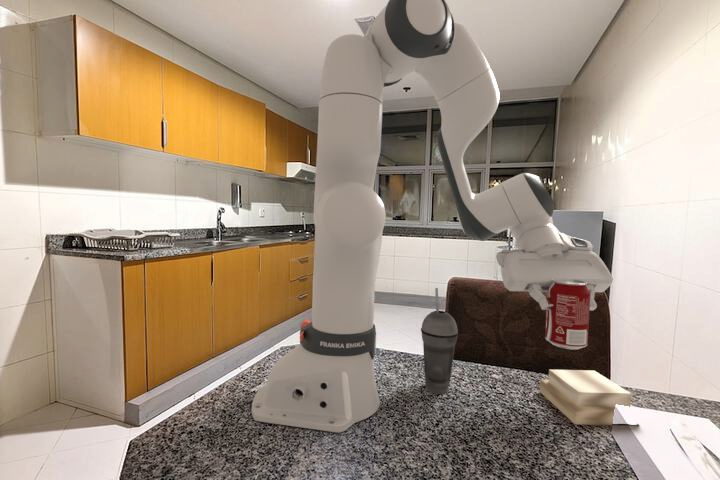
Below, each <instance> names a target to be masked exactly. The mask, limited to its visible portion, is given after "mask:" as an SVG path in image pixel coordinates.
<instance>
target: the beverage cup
mask: <svg viewBox="0 0 720 480" xmlns="http://www.w3.org/2000/svg"><path fill="white" fill-rule="evenodd" d="M434 292H435V310H433V311H431V312H429V313H428V314H427V315H426V316H425V317H424V319H423V320H422V323H421V328H420V332H421V340H422V342H423V343H422V345H423V346H422V347H423V348H422V349H423V365H424V366H423V368H424V370H423V371H424V382H425V384H424V385H425V389H426V390H427V392H430V393H432V394H438V395H439V394H442V395H443V394H446V393H448V392H449V387H450V383H451V375H452V370H453V362H454V355H455V348H456V344H457V340H458V335H459V332H458V331H459V330H458V325H457V322H456V320H455V319H454V317H453V316H452V315H451V314H450V313H448V312H446V311H444V310H440V307H439V306H440V305H439V303H440V302H439V288H438V287H435V289H434Z"/></svg>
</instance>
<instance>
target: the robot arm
mask: <svg viewBox="0 0 720 480" xmlns="http://www.w3.org/2000/svg"><path fill="white" fill-rule="evenodd" d="M413 72H415V73H416V74H418V75H420V76H421V77H422V78H423V79H424V80H425V81H426V82H427V84H428V86H429V88H430V91H431V93H432V95H433V97H434V100H435V101H436V103H437V106H438V108H439V110H440V111H439V112H440V117H441V125H440V128H439V129H438V131H437V132H436V141H437V147H438V150H439V155H440V159H441V162H442V166H443V169H444V171H445V174H446V178H447V181H448V184H449V188H450V190H451V191H450V192H451V195H452V197H453V200H454V204H455V206H456V207H455V208H456V212H457V218H458V222H459V226H460V228H461V230H462V231H463V233H464V234H465V236H466V237H467V238H470V239H473V240H476V241H480V242H484V241H487V240H490V239H491V238H492V237H495V236H497V235H498V234H500V233H501V232H504V231H506V230H510V232H511V234H512V236H513V237H514V238H515V244H516V245H515V246H516V247H517V249H512V250H511V249H502V250H501V251H499V252H497V254H496V255H495V256H496V258H495V259H496V261H497V264H498V265H499V266H500V273H501V280H502V284H503V287H504V288H506V289H507V290H508V291H509V292H528V293H529V296H530V297H532V299H534V301H536V302H537V303H538V304H539V306H540V308H541V310H542V311H547V310H551V308H553V303H552V300H551V298H547V296H546V295H544V294H543V293H542V292H545V293H546V292H547V293H548V287H549V286H550V285H551V284H552V279H553V280H554V281H558V282H574V280H580V281H585V282H587V285H586V287H587V288H588V290H589V291H590V310H589V311H594V310H596V309H597V307H598V305H597V302H596V301H595V295H596V293H604V292H605V291H606V290H607V289H608V288H609V287H611V285H612V283H613V280H614V278H613V276H612V274H611V272H610V270H609V269H608V267H607V265H606V264H605V262H604V260H602V258H601V257H600V256H599V255H598V254H597V253H595V252H593V251H592V250H593V248H594V246H593V244H592V243H591V242H590V241H588V240H586V239H581V238H579V237H578V238H577V237H574V236H570V235H568V234H566V233H563V232H560V230H559V229H558V228H557V226H555V225H554V221H553V214H554V210H555V202H554V199H553V197H552V195H551V193H549V191H548V190H547V188H546V185H545V183H544V181H543V179H542V178H541V177H540V176H538V175H536V174H532V173H528V172H523V173H519V174H517V175H514V176H513V177H511V178H508V179H506V180H504V181H502V182H501V183H498V184H497V185H494V186H492V187H490V188H487V189H486V190H483V191H482V192H479V193H474V192H473V190H472V188H471V184H470V181H469V177H468V174H467V172H466V167H465V164H464V155H465V153H466V151H467V149H468V148H469V146H470V145H471V143H472V142H473V141H474V140H475V139H476V138H477V136H479V134H480V133H481V132H482V131H483V130H484V129H485V128H486V127H487V126H488V124H489V123H490V121H491V120H492V118H493V117H494V115H495V114H496V112H497V109H498V108H499V107H498V106H499V103H500V95H501V94H500V90H499V87H498V84H497V80H496V77H495V75H494V73H493V71H492V69H491V67H490V64H489V63H488V61H487V58H486V57H485V55H484V53H483V51H482V50H481V48H480V46H479V45H478V43H477V41H475V39H474V37H473V36H472V35H471V33H470V32H469V31H468V30H467V28H466V27H465V26H464V25H463V24H460V23H456V22H455V20H454V16H453V14H452V13H451V11H450V8H449V6H448V3H447V2H446V0H388V2H387V4H386V5H385V6H384V7H383V8H382V10H380V12H379V13H378V14H377V16H375V18H374V19H373V20H372V22H371V24H370V26H369V27H368V29H367V30H366V32H365V35H363V36H362V35H360V34H352V33H351V34H343V35H341V36H338V37H337V38H335V39H334V40H333V41H332V42H331V43H330V44H329V46H328V48H327V51H326V53H325V57H324V62H323V67H322V71H321V79H320V85H319V86H320V87H319V95H318V96H319V98H318V100H319V101H318V118H317V122H318V123H317V139H316V140H317V142H316V143H317V145H316V163H315V176H314V177H315V183H314V196H313V197H314V200H313V224H314V230H315V231H314V249H313V250H314V252H313V271H312V273H313V274H312V275H313V276H312V300H311V302H312V303H311V305H312V306H311V320H310V319H309V318H308V319H306V318H305V319H304V320H303V321H302V322H301V323H300V330H299V344H298V345H297V346H295V347H294V348H292V349H290V351H289V350H288V352H287V353H285V354H283V356H281V357H280V358H278V360H277V361H276V362H275V363H274V364H273V366H272V368H271V369H270V371H269V374H268V377H267V380H266V382H265V383H263V384H262V386H261V387H260V388H259V389H258V390H257V392H256V393H255V395H254V397H253V400H252V403H251V410H250V411H251V412H250V413H251V415H252V418H253V420H254V421H256V422H260V423H262V422H263V423H268V424H273V425H281V426H290V427H297V428H304V429H311V430H317V431H324V432H330V433H342V432H345V431H347V430H348V429H349V428H351V426H352V425H354V424H355V423H358V422H360V421H364V420H366V419H367V418H369V417H371V416H373V415H374V414H375V413H376V412H377V411H378V409H379V407H380V405H381V401H380V400H381V399H380V396H379V393H378V388H377V381H376V374H375V365H374V363H375V361H374V359H375V355H376V349H377V347H376V346H377V331H376V330H377V329H376V325H375V323H374V320H375V319H374V318H375V317H374V316H375V290H376V289H375V288H376V279H377V272H378V267H379V261H380V256H381V255H380V254H381V247H382V243H383V242H382V241H383V234H384V233H383V232H384V228H385V226H386V219H387V218H386V217H387V215H386V214H387V213H386V208H385V204H384V202H383V200H382V199H381V197H380V196H379V195H378V193H377V192H376V191H375V190H374V187H375V186H374V185H375V181H376V180H375V179H376V173H377V169H378V163H379V159H380V155H381V149H382V148H381V147H382V146H381V145H382V128H383V127H382V125H383V109H384V108H383V107H384V106H383V105H384V104H383V103H384V87H385V88H386V87H391V86H393V85H395V84H397V83H399V82H400V81H401V80H403V78H405V77H406V76H408V75H409V74H411V73H413ZM573 279H574V280H573Z"/></svg>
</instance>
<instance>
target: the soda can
mask: <svg viewBox="0 0 720 480" xmlns="http://www.w3.org/2000/svg"><path fill="white" fill-rule="evenodd" d="M573 280H574V279H573ZM586 285H587V282H585V281H580V280H574V282H558V281H554V280H553V279H552V284H551V285H550V286H549V287H548V292H547V293H546V294H547V295H546V297H547V298H551V300H552V303H553V308H551V310H546V313H545V314H546V315H545V317H546V318H545V335H544V338H545V340H546V341H547V342H549V343H550V344H552V345H553V346H555V347H558V348H561V349H567V350H580V349H582V348H586V347H587V346H588V342H589V327H590V325H589V323H590V311H591V310H590V291H589V290H588V288H587V287H586Z"/></svg>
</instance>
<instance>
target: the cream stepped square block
mask: <svg viewBox="0 0 720 480" xmlns="http://www.w3.org/2000/svg"><path fill="white" fill-rule="evenodd" d="M539 393H540V394H542V395H543V396H544V397H545V399H547V400H548V401H549V402H551V404H552V405H554V407H556V408H557V409H558V410H559V411H560V412H561V414H563V415H564V416H566V417H567V418H568V419H569V420H570V421H571V422H572V423H573V424H574V425H597V426H613V425H612V424H613V416H614V409H615V405H616V404H618V405H624V406H629V407H635V406H634V405H632V404H631V403H632V402H631V399H632V393H631V392H630V391H628V390H627V389H625V388H623V387H621V386H620V385H619V384H617V383H615V382H613V381H612V380H610V379H609V378H607V377H606V376H604V375H603V374H600V372H597V371H596V370H590V369H589V370H588V369H587V370H585V369H584V370H583V369H550V368H549V369H548V379H540V381H539Z"/></svg>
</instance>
